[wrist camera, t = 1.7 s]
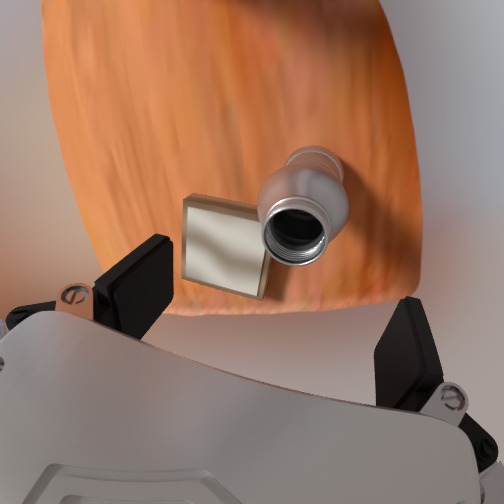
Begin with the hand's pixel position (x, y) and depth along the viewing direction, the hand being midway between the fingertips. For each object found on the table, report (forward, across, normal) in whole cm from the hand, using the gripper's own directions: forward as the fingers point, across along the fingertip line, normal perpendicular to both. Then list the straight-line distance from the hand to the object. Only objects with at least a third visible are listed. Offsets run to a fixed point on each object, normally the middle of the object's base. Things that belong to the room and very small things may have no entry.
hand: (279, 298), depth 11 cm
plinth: (+25, +9, +12) cm, 29 cm away
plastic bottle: (+26, 0, 0) cm, 26 cm away
